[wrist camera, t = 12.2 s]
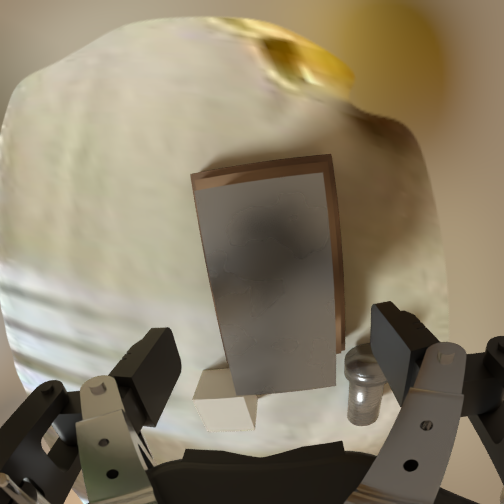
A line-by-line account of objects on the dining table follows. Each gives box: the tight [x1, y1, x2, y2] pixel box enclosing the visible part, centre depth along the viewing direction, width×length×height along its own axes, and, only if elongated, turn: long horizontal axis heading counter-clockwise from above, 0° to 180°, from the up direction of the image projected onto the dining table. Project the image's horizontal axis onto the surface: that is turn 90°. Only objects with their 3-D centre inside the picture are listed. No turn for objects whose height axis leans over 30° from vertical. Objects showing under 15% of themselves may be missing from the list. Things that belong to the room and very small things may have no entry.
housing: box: [194, 173, 336, 396], centre depth 15 cm, size 5×10×6 cm, turn 8°
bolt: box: [344, 343, 387, 426], centre depth 20 cm, size 7×4×4 cm, turn 8°
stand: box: [190, 154, 345, 363], centre depth 19 cm, size 14×9×2 cm, turn 8°
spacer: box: [192, 368, 258, 432], centre depth 21 cm, size 4×4×4 cm
